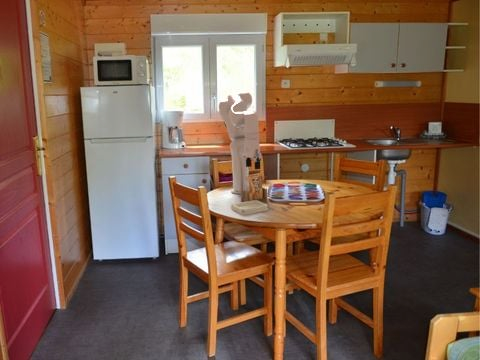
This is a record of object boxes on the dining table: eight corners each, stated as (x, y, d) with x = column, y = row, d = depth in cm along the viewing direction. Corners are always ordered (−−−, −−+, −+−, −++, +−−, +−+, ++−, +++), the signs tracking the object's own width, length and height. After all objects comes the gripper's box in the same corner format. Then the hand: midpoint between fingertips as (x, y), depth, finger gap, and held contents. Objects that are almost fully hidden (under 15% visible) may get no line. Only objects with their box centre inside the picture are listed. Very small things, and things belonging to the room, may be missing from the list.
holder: (241, 202, 238) (240, 189, 236) (260, 198, 243) (260, 186, 242) (247, 205, 231) (246, 192, 230) (267, 201, 237) (267, 189, 235)
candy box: (258, 199, 241) (257, 172, 238) (263, 201, 238) (262, 174, 235) (245, 202, 236) (244, 175, 233) (250, 204, 233) (249, 176, 230)
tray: (231, 209, 226) (231, 204, 225) (256, 204, 232) (256, 199, 232) (242, 215, 214) (242, 210, 214) (268, 210, 221) (268, 205, 220)
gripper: (238, 135, 235) (239, 166, 239) (253, 138, 220) (254, 171, 223) (250, 134, 238) (251, 165, 242) (266, 136, 223) (267, 169, 227)
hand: (253, 167), depth 233 cm, fingers open, 9 cm apart
